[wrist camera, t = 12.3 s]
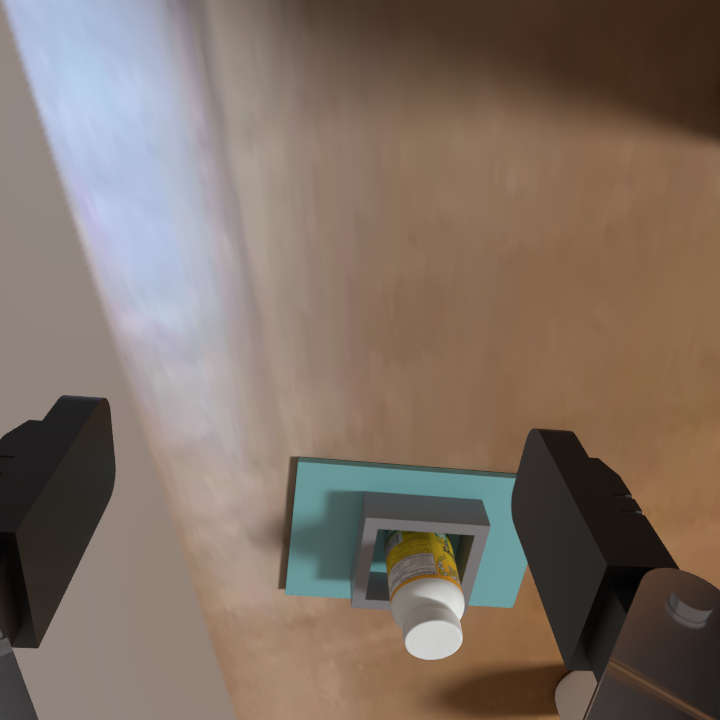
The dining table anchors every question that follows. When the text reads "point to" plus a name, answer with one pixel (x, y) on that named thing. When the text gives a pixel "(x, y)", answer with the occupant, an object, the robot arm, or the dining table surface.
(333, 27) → the dining table surface
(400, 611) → the supplement bottle
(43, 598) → the robot arm
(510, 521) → the bottle stand
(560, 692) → the pill bottle
